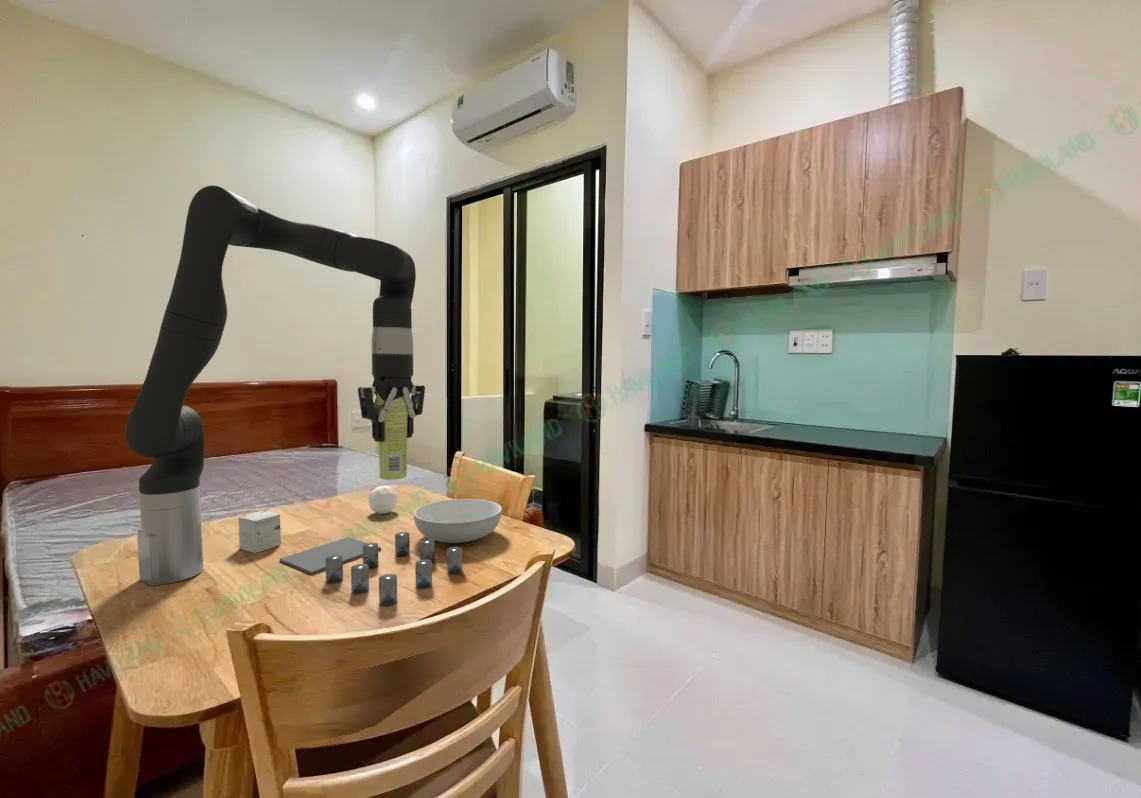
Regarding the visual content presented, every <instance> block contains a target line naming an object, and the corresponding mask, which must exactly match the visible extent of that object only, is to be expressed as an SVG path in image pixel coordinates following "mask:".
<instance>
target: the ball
mask: <svg viewBox="0 0 1141 798" xmlns="http://www.w3.org/2000/svg"><path fill="white" fill-rule="evenodd" d="M367 499H368V505H369V508H370V510H372V511H373V512H375V513H376V514H379V515H384V514H389V513H390V512H392V511H393V510H395V508H396V506H397V504H398V503H399V500H398V499H399V498H398V493H397V491H396V490H395V489H394V488H393V487H391V486H389V485H387V484H386V485H379V486H377V487H375V488H374V489H373V490H372V491H370V493H369V496H368V497H367Z"/></svg>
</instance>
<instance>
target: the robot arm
mask: <svg viewBox="0 0 1141 798" xmlns="http://www.w3.org/2000/svg"><path fill="white" fill-rule="evenodd" d="M183 233H184V234H183V240H182V245H181V253H180V257H179V261H178V262H179V263H178V266H177V269H176V274H175V277H174V281H173V285H172V288H171V292H170V295H169V298H168V302H167V305H166V308H165V310H164V314H163V318H162V321H161V325H160V328H159V333H158V337H157V340H156V344H155V347H154V350H153V354H152V356H151V359H150V363H149V366H148V370H147V373H146V376H145V379H144V381H143V384H142V386H141V388H140V391H139V393H138V395H137V397H136V400H135V402H134V405H133V407H132V409H131V411H130V414H129V416H128V418H127V422H126V425H125V429H124V431H125V432H124V433H125V434H124V435H125V441H126V444H127V446H128V448H129V449H130V451H132V452H133V453H134V454H135V455H137V456H138V457H141V458H146V459H147V458H148V459H149V458H153V461H152V463H151V464H150V467H149V468H148V469H147V470H146V471H145V472H144V473H143V474H142V475H141V476H140V478H139V479H138V491H139V496H138V497H139V510H140V512H139V513H140V514H139V515H140V528H141V529H139V530H137V532H136V533H137V534H136V535H137V551H138V554H137V555H138V569H139V570H138V571H139V572H138V574H139V580H141V581H142V582H143V583H146V584H147V585H148V586H151V587H155V586H159V585H163V584H165V585H166V584H171V583H176V582H181V581H185V580H188V579H190V578H193V577H195V576H197V575H199V574H200V573H202V572H203V571H204V551H203V550H204V549H203V530H202V529H203V528H202V527H203V526H202V506H201V487H200V485H201V483H200V479H201V478H200V477H201V475H202V472H203V470H204V465H205V429H204V424H203V422H202V418H201V417H200V415H199V414H198V412H197V411H195V410H194V409H193V408H191V407H189V406H186V405H184V402H185V400H186V397H187V395H188V391H189V389H190V388H191V386H192V385H193V382H194V381H196V379H197V377H198V376H199V375H200V374H201V372H203V370H204V369H205V368H206V366H207V365H208V364H209V362H211V359H212V358H213V357H214V355H215V353H216V351H217V350H218V348H219V345H220V343H221V339H222V337H223V333H224V329H225V326H226V324H227V319H228V305H227V299H226V294H225V290H224V285H223V284H224V282H223V266H224V261H225V258H226V254H227V252H228V251H227V250H228V248H229V245H230V246H233V247H241V248H242V247H243V248H252V249H253V248H254V249H261V250H262V249H263V250H271V251H276V252H279V253H284V254H289V255H292V256H294V257H298V258H302V259H304V260H307V261H311V262H313V263H317V264H320V265H323V266H327V267H329V268H333V269H337V270H341V271H344V272H349V273H354V272H355V273H357V274H361V275H364V276H366V277H369V278H373V279H375V280H378V281H380V282H379V283H380V284H379V285H380V286H379V295H378V297H375V298H374V300H373V303H372V335H371V375H372V377H373V381H372V385H370V386H359V387H358V388H357V394H358V401H359V407H360V414H361V418H362V419H365V420H369V421H370V422H371V436H372V437H371V438H372V439H373V440H374V441H375V442H378V443H379V442H383V441H384V440H385V431H384V422H383V420H384V418H385V415H386V412H387V411H389V409H390V406H391V404H392V401H393V400H395V399H398V398H400V397H403V399H404V401H405V404H406V406H407V410H408V416H407V439H410V438H412V437H413V435H414V429H415V427H414V426H415V425H414V422H415V421H414V419H415V418H416V417H417V416H420V415H422V414H423V409H424V401H425V393H426V387H425V385H423V384H422V385H421V384H414V383H413V381H412V377H413V376H414V336H413V330H412V328H413V326H412V324H413V323H412V313H413V312H412V303H413V299H414V292H415V286H416V279H417V278H416V277H417V275H416V273H417V271H416V270H417V269H416V265H415V261H414V259H413V257H412V256H411V255H410V254H409V253H408V252H407V251H405V250H404V249H402V248H401V247H399V246H398V245H396V244H393V243H392V242H389V241H388V242H387V241H384V240H381V239H376V238H370V237H364V236H358V235H355V234H353V233H351V232H346V231H343V230H339V229H335V228H334V227H333V228H332V227H329V226H324V225H320V224H314V223H306V222H305V223H303V222H296V221H292V220H288V219H285V218H282V217H279V216H277V215H275V214H272V213H270V212H268V211H266V210H263V209H262V208H260V207H257V206H256V205H254V204H253V203H252V202H250V201H249V200H247V199H245V198H244V197H242V196H239V195H238V194H237V193H234V192H232V191H230V190H228V189H226V188H224V187H222V186H218V185H207V186H203V187H202V188H200V189H199V190H198V191H197V192H196V193H195V194H194V196H193V197H192V199H191V201H190V204H189V206H188V210H187V216H186V220H185V226H184V232H183ZM375 383H376V385H375ZM376 391H377V392H378V394H379V396H380V397H381V399H382V400H384V401H385V402H384V404H383V405H377V392H376ZM374 397H375V400H374ZM378 409H380V411H379V414H378Z"/></svg>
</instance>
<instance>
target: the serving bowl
mask: <svg viewBox="0 0 1141 798" xmlns="http://www.w3.org/2000/svg"><path fill="white" fill-rule="evenodd" d="M502 512H503V508H502V506H501V505H500V504H499V503H496V502H493V501H490V500H485V499H478V498H476V499H475V498H455V499H453V498H452V499H446V500H445V499H443V500H438V501H434V502H430V503H425V504H423V505H421V506H418V507H417V508H416V509H415V510H414V511H413V519H414V523H415V526H416V529H417V530H418V532H419V533H420V534H421V535H423V536H424V537H425V538H426V539H433V540H435V542H440V543H447V542H448V543H449V544H462V542H463V543H468V542H471V541H475V540H476V541H477V540H479V539H482V538H484V537H486V536H488V535H489V534H491V533H492V532H493V531H494V530H495V529H496V528H497V527H498V525H499V524H500V521H501V519H502Z"/></svg>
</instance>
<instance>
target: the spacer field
mask: <svg viewBox="0 0 1141 798" xmlns="http://www.w3.org/2000/svg"><path fill="white" fill-rule="evenodd" d="M435 545H436V541H435V540H433V539H429V538H426V539H422V540H420V541H419V558H420V559H419V560H417V561H416V562H415V564H414V565H415V567H414V568H415V569H414V570H415V588H416V589H418V590H425V589H426V590H427V589H429V588H431V587H432V586H433V564H435V562H436V551H435V550H436V549H435V548H436V546H435ZM410 546H411V545H410V532H408V531H400V532H397V533H395V534H394V547H395V548H394V552H395V553H394V554H395V555H394V556H395V557H397V558H403V557H407V556H409V555H410ZM362 547H363V557H362V563H358V564H354V565H352V566H351V567H350V584H351V585H350V586H351V587H350V588H351V589H350V590H351V594H353V595H363V594H366V593H367V592H369V591H370V580H369V579H370V578H369V577H370V576H369V575H370V573H369V572H370V571H369V570H373V569H376V568H378V567H379V551H378V547H379V543H378V542H366V544H364V545H363V546H362ZM325 560H326V570H325V583H327V584H328V585H330V584H331V585H333V584H337V583H340V582H342V581H343V580H344V563H343V556H342V555H331V556H328V557H326V559H325ZM446 565H447V566H446V570H447V571H446V573H448V574H449V575H458V574H461V573H462V572H463V548H462V547H461V546H452V547H449V548H447V549H446ZM378 598H379V599H378V603H379V605H380V606H381V607H391V606H394V605H396V604H397V603H398V576H397V574H394V573H385V574H381V576H379V577H378Z"/></svg>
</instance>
